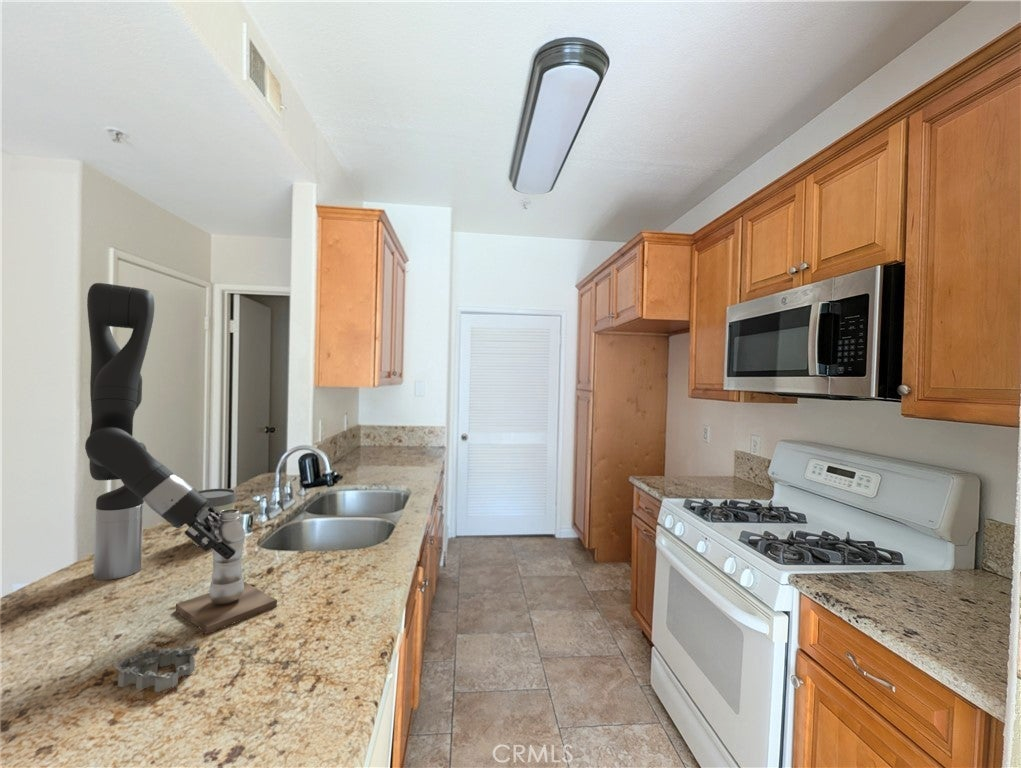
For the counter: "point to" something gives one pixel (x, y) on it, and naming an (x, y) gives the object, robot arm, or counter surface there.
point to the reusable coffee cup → (219, 499)
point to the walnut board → (225, 609)
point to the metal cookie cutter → (156, 667)
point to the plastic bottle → (228, 561)
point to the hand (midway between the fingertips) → (236, 548)
